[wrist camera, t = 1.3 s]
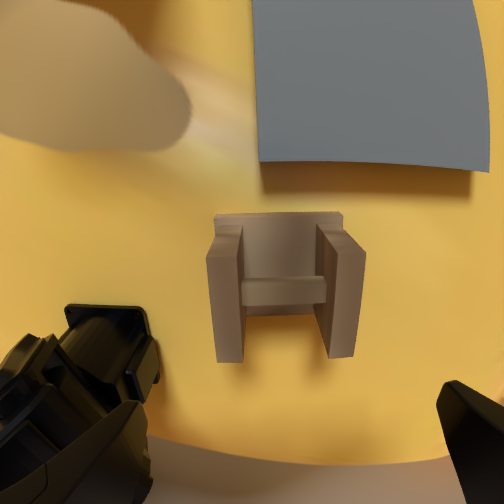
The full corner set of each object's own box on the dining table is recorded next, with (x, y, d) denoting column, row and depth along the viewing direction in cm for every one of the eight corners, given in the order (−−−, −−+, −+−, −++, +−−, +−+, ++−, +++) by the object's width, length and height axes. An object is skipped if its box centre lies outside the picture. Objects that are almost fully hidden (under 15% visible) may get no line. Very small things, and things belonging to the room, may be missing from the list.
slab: (258, 160, 17) (258, 161, 15) (249, -49, 13) (248, -65, 11) (471, 169, 17) (489, 172, 15) (451, -17, 12) (464, -26, 10)
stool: (223, 307, 20) (211, 368, 14) (216, 213, 18) (197, 247, 12) (332, 303, 20) (358, 362, 14) (337, 211, 18) (373, 243, 12)
